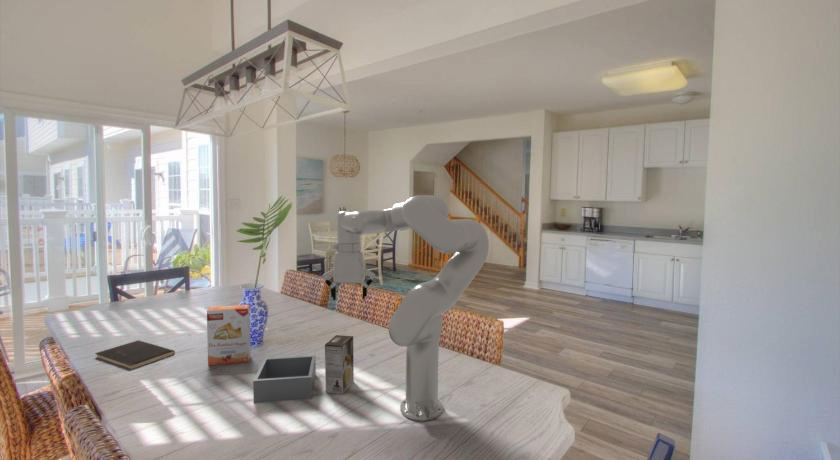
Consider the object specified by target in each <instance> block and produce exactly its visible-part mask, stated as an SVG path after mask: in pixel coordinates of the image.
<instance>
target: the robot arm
mask: <svg viewBox="0 0 840 460" xmlns="http://www.w3.org/2000/svg"><path fill="white" fill-rule="evenodd" d="M449 211H450V209H449V205H448V203H447V202H446V200H445V199H444V198H442V197H441V196H437V195H424V194H423V195H421V194H420V195H419V194H418V195H414V196H411V197H409V198H408V199H407V200H403V201H399V202H396V203H394V204H393V206H392V207H391V208H387V209H381V210H380V209H378V210H374V209H373V210H340V211H338V212H337V216H336V217H337V218H336V219H337V220H336V221H337V222H336V225H337V226H336V228H337V230H336V231H337V233H336V235H337V237H336V239H337V241H336V242H337V243H335V244H332V249H333V250H336V251H335V252H334V257H333V268H332V269H331V270H329V271H327V272H325V273H323V274H322V279H323V281H324V282H325V284H326V285H327V286H328V287H329V288H330V297H331V298H332V300H333V301H336V299H337V287H336V285H337V284H361V285H362V300H366V299H365V297H368V287H369V286H370V285H371V284H372V283H373V281H374V278H375V277H376V273H375V272H373V271H371V270H369V269H366V268H365V258H364V252H363V251H361V242H362V241H361V236H363V235H364V236H365V235H371V234H373V235H374V234H383V233H388V232H394V231H395V232H396V231H408V230H413V231H414V232H415V233H416V234H417V235H418V236H420V237H421V238H422V240H424V242H426V243H427V244H429V246H431V247H432V248H433V249H434V250H436V251H438V252H440V253H442V254H448V255H449V254H450V255H451V254H453V255H452V256H451V257H450V258H449V259H448V260H447V261H446V262H445V264H444V265H443V267H442V268H441V269H440V271H439V272H438V273H437V275H436V276H435V277H434V278H432V279H430V280H428V281H425V282H421V283H419V284H417V285H414V286H413V287H412V288H411V289H409V291H408V292H407V294H406V295H404V296H405V297H404V298H403V299H402V301H401V303H400V304H399V305H398V307H397V308H396V309H395V311H394V313H393V314H392V316H391V318H390V320H389V322H388V335H389V338H390V339H391V340H392V342H393V343H394V344H395V345H397V346H399V347H405V348H406V351H405V353H406V354H405V356H406V357H405V399H404V400H402V401H401V403H400V406H399V407H400V408H399V409H400V412H401V414H402V416H404V417H405V418H407V419H409V420H414V421H422V422H424V421H430V420H434V419H437V418H439V417H440V415H442V413H443V411H444V409H443V407H444V406H443V403H442V402H441V400H438V399H439V359H440V358H439V357H440V355H439V353H440V352H439V351H440V340H441V334H442V330H443V316H442V314H445V313H447V312H448V311H450V310H451V309H453V307H454V306H455V305H456V303H457V302H458V300H459V299H460V298H461V296H462V295H463V294H464V293H465V291H466V290H467V289H468V287H469V286H470V284H471V282H472V281H473V280H474V279H475V277H476V276H477V275H478V274H479V272H480V271H481V270H482V268H483V266H484V264H485V262H486V260H487V257H488V254H489V248H490V244H489V237H488V233H487V231H486V229H485V228H484V226H483V225H482V224H481V223H480V222H478V221H477V220H474V219H470V218H460V219H459V218H458V219H457V218H456V219H448V216H449V213H450V212H449ZM331 275H332V277H333V278H332V279H333V281H331V280H330V279H329V276H331ZM365 275H367V276H370V277H369V278H368V279H367V281H366V280H365V279H366V278H365V277H366V276H365Z"/></svg>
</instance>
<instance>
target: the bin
mask: <svg viewBox="0 0 840 460" xmlns="http://www.w3.org/2000/svg"><path fill="white" fill-rule="evenodd" d="M316 359H317V358H316V355H303V356H301V355H300V356H287V357H286V356H283V357H282V356H281V357H280V356H279V357H265V358H263V360H262V362H261V363H260V366H259V367H258V370H257V373H256V374H255V376H254V379H253V381H252V387H253V393H252V394H253V404H262V403H274V402H287V401H290V402H291V401H299V400H300V401H302V400H312V399H313V393H314V392H313V391H314V386H315V381H316V376H317V375H316V374H317V373H316V371H317V369H316V365H317V364H316Z"/></svg>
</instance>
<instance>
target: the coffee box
mask: <svg viewBox="0 0 840 460" xmlns="http://www.w3.org/2000/svg"><path fill="white" fill-rule="evenodd" d="M324 364H325V365H324V369H325V372H324V373H325V379H324V380H325V393H329V394H330V393H331V394H338V395H344V394H345V393H346V392H347V391H348V389H349V388H350V387H351V385H352V384H353V383H354V380H355V379H354V376H355V375H354V369H355V368H354V365H355V364H354V336H353V335H340V334H338V335H334V336H333V337H332V338H331V339H329V341H327V342H326V343H325V344H324Z"/></svg>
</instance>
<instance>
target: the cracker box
mask: <svg viewBox="0 0 840 460" xmlns="http://www.w3.org/2000/svg"><path fill="white" fill-rule="evenodd" d="M250 310H251V309H250V304H241V305H240V304H239V305H237V304H236V305H219V306H218V305H217V306H216V305H215V306H209V307H208V309H207V311H206V332H207V333H206V334H207V335H206V336H207V338H206V339H207V366H217V365H229V364H230V365H231V364H241V363H249V361H250V359H251V316H250V315H251V314H250V313H251V311H250Z"/></svg>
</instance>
